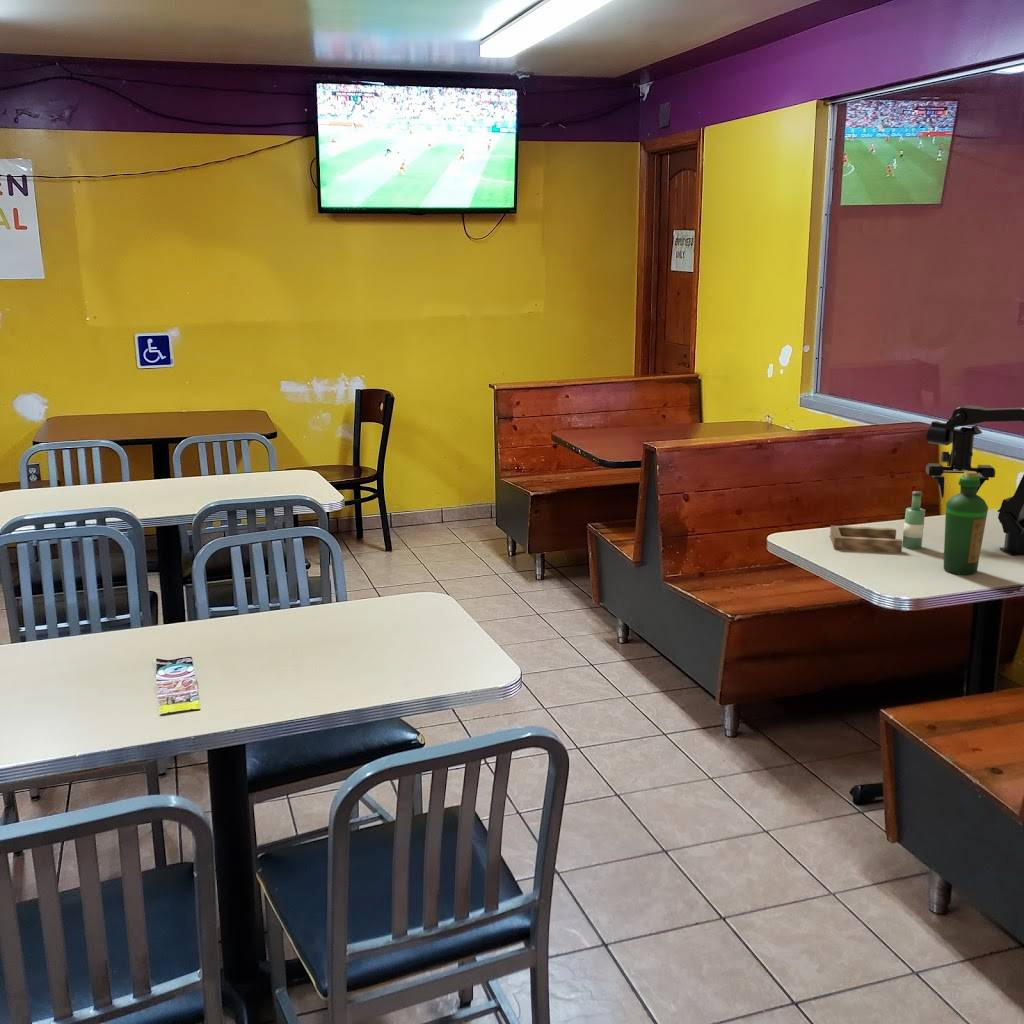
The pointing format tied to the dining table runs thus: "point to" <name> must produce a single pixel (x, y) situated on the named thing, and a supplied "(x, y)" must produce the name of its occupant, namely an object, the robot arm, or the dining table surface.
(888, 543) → the cradle
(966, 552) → the bottle
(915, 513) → the bottle
